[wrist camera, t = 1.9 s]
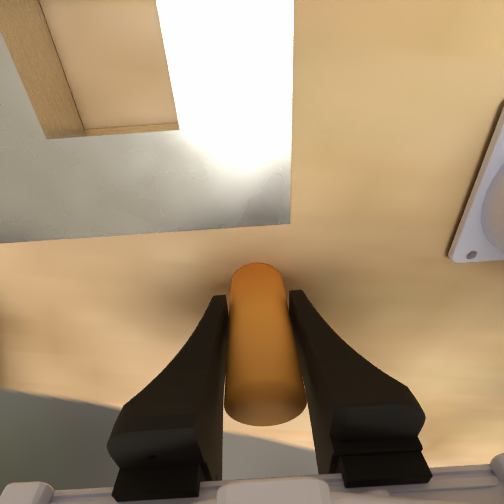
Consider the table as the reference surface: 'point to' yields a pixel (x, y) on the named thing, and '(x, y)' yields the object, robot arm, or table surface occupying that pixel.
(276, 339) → the orange cylinder
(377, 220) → the table surface
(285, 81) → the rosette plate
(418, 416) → the robot arm
